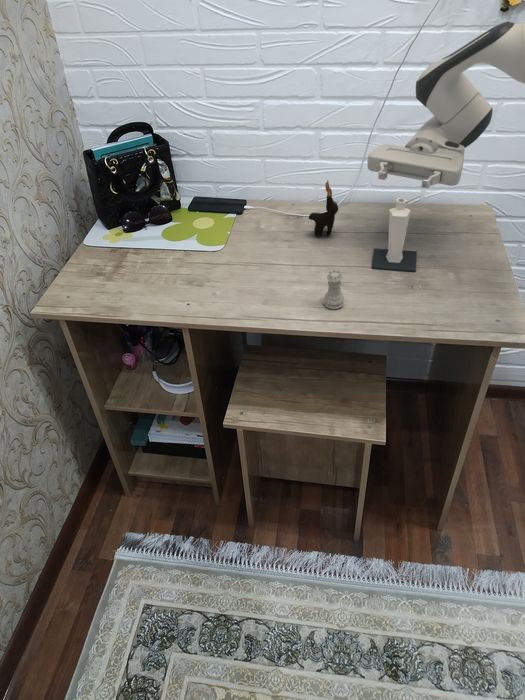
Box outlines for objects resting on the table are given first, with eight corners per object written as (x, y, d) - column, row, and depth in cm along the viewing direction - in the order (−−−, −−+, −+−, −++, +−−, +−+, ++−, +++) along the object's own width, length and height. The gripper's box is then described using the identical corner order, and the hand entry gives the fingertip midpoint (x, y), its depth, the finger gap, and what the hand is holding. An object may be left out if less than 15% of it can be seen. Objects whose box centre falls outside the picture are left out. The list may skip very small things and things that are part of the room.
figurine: (336, 245, 140) (338, 188, 130) (307, 244, 141) (307, 188, 131) (338, 222, 147) (341, 167, 137) (311, 221, 148) (311, 167, 138)
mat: (416, 252, 135) (416, 251, 135) (415, 272, 130) (416, 270, 129) (373, 249, 137) (373, 248, 137) (371, 269, 132) (371, 267, 131)
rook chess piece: (343, 311, 121) (345, 280, 116) (322, 309, 122) (323, 279, 116) (344, 298, 124) (346, 267, 119) (324, 296, 125) (325, 266, 120)
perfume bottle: (391, 266, 131) (398, 207, 121) (381, 256, 134) (387, 198, 124) (408, 260, 132) (416, 202, 122) (397, 251, 135) (404, 193, 125)
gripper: (381, 133, 129) (357, 157, 121) (472, 147, 121) (453, 174, 113) (378, 159, 134) (355, 185, 125) (466, 175, 126) (448, 203, 117)
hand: (402, 180), depth 119 cm, fingers open, 8 cm apart
